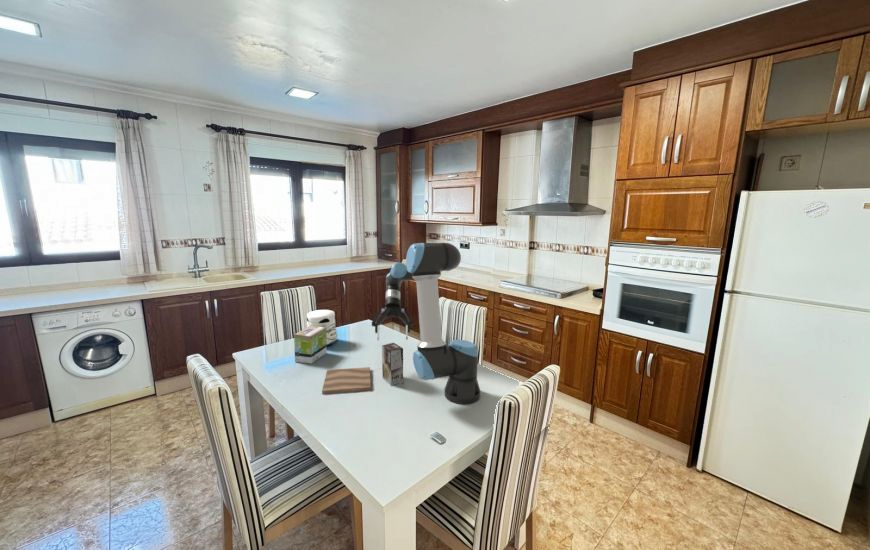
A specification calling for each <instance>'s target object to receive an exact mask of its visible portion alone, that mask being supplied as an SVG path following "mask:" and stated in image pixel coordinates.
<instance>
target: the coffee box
mask: <svg viewBox="0 0 870 550" xmlns="http://www.w3.org/2000/svg"><path fill="white" fill-rule="evenodd" d="M381 365H382V379H383V380H384V381H385V382H386V383H388V384H389V385H390V386H394V385H398V384H401V383H403V382H404V348H403V347H402V346H401V345H398V344H397V343H395V342H391V343H387V344H386V343H385V344H382V345H381Z"/></svg>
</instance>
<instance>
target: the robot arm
mask: <svg viewBox="0 0 870 550" xmlns="http://www.w3.org/2000/svg"><path fill="white" fill-rule="evenodd" d="M461 262H462V255H461V251H460V250H459V248H457V247H456V246H455V245H454V244H452V243H449V242H419V243H413V244H411V245H410V246H409V248H408V250H407V251H406V258H405V263H403V262H400V261H399V262H395V263H394V264H393V265H392V266H391V269H390V272H389V273H387V274H386V277H385V303H384V304H385V306H384V308H382V307H379V308H378V311H377V313H376V315H375V316H374V318H373V320H372V321H371V327H375V328H374V333H375V334H376V339H377V341H380V326H381V325H382V324H383V322H384V321H386V319H388V318H398V319H399V320H401V322H402V323H403V324H405V341H406V340H407V341H408V339H409V337H408V336H409V335H408V333H409V334H410V332H411V327H413V326H414V321H413V319H412V317H411V316H410V313H409V311H408V309H407V307H406V306H405V307H403V308H401V287H402V283H403V282H405V281H407V282H408V281H409V282H411V281H415V282H416V293H417V308H418V323H419V336H420V341H419V342H418V344H417V346H416V347H417V350H414V351H413V354H412V360H413V361H412V362H413V366H414V370H415V372H416V374H417V375H418V377H419V378H420V379H421V380H423V381H428V380H435V379H440V378H441V379H442V378H445V377H448V379H447V381H446V384H445V387H444V392H443V394H444V397H445V398H446V400H448V401H450V402H452V403H455V404H458V405H461V404H462V405H469V404H473V403H476V402H477V401H479V400H480V398H481V388H480V385H479V380H478V359H479V350H478V348H479V347H478V346H477V345H476V344H475V343H474V342H472V341H468V340H465V339H452V340H451V341H450V342H449V345H448V346H447V343H446V341H444V339H443V335H442V334H443V333H442V322H441V320H442V319H441V309H440V297H439V285H438V284H439V281H438V280H439V279H440V278H441V276H442V272H449V271H452V270H454V269H456V268H457V267H458V266H459V265H460V264H461ZM402 313H403V314H404V315H402ZM381 314H383V315H382V316H381ZM404 316H405V317H406V318H405V317H404ZM380 317H381V318H380Z"/></svg>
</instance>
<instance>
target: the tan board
mask: <svg viewBox="0 0 870 550" xmlns="http://www.w3.org/2000/svg"><path fill="white" fill-rule="evenodd" d="M371 386H372V385H371V367H370V366H369V367H368V366H366V367H352V368H338V369H327V370H326V373H325V377H324V382H323V385H322V390H321V394H322V395H325V394H328V395H329V394H339V393H351V392H352V391H355V392H365V391H367V392H368V391H371V390H372V388H371Z"/></svg>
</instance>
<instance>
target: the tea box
mask: <svg viewBox="0 0 870 550" xmlns="http://www.w3.org/2000/svg"><path fill="white" fill-rule="evenodd" d="M293 339H294V340H293V341H294V342H293V343H294V347H293V348H294V362H295V363H302V364H313V363H314V362H316V361H317V360H318V359H320V358H321V357H322V356H324V355H326V354H327V350H328V349H327V346H326V328H325V327H315V326H309V327H307V326H306V328H303V329H302V330H300V331H298V332H296V333H295V334H294V336H293Z"/></svg>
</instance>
